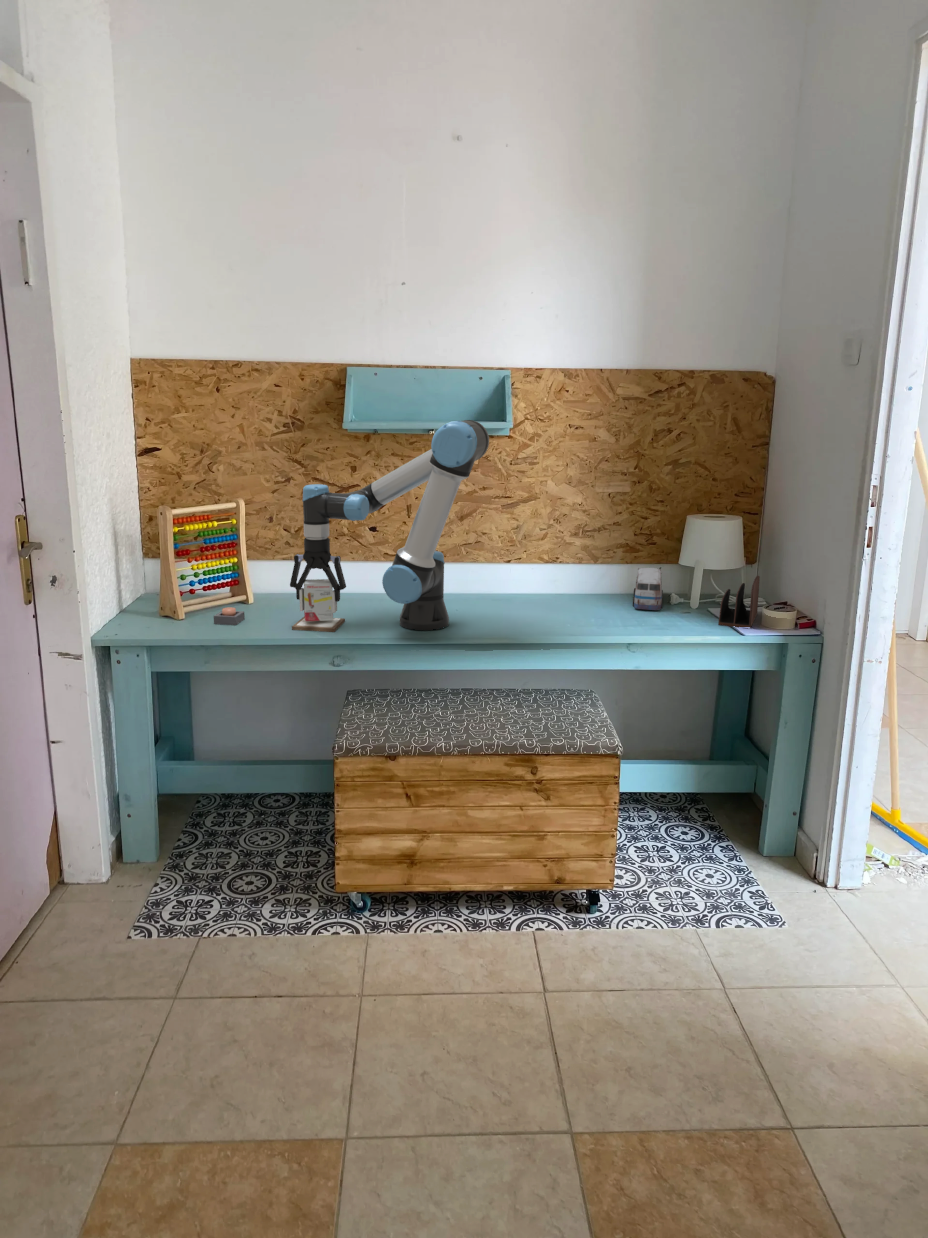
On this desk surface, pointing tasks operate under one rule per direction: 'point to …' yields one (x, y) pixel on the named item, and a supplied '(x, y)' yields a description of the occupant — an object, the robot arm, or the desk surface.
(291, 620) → the desk surface
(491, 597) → the desk surface
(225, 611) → the button
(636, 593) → the toy bus
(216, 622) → the button base
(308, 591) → the ink box
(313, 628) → the board
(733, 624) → the letter holder
